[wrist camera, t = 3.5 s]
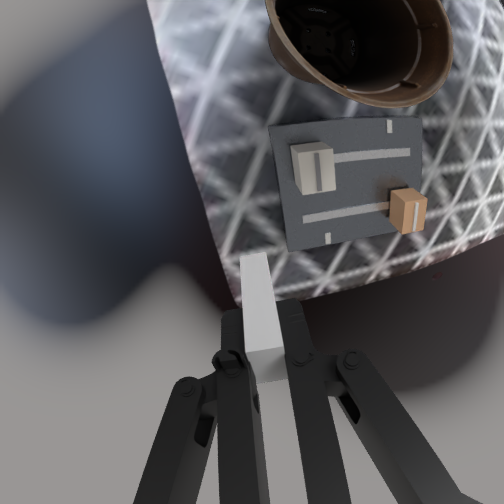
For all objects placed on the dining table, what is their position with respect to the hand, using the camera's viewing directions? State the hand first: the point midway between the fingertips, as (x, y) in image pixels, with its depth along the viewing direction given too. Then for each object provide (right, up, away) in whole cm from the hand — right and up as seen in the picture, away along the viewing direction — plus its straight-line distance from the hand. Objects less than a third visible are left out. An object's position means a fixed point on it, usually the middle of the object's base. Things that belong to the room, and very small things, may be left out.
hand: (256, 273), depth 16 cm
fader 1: (+7, +12, +16) cm, 21 cm away
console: (+14, +12, +20) cm, 27 cm away
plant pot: (+8, +28, +9) cm, 30 cm away
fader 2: (+22, +8, +19) cm, 30 cm away
